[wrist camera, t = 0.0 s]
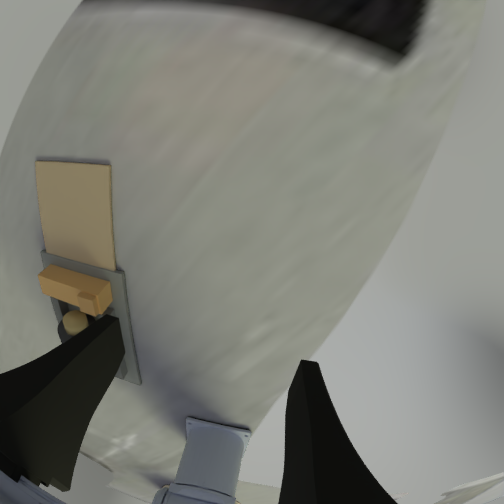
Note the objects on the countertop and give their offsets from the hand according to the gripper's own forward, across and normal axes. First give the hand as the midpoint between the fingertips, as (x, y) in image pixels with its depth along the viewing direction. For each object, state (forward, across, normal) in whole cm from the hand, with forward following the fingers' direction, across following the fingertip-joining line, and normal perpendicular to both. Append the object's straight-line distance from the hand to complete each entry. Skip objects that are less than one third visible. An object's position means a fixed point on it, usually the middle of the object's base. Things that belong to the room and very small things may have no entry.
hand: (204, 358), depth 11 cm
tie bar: (+10, +14, +6) cm, 18 cm away
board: (+10, +14, +8) cm, 19 cm away
